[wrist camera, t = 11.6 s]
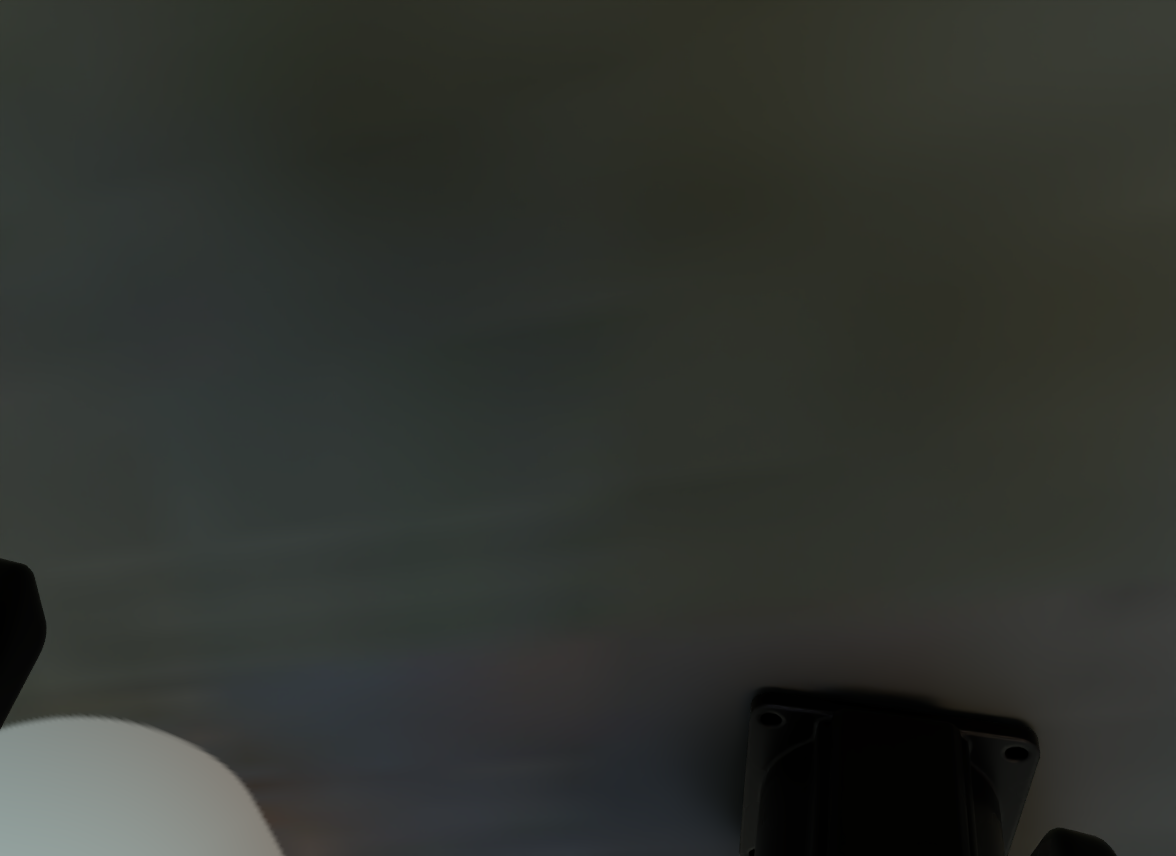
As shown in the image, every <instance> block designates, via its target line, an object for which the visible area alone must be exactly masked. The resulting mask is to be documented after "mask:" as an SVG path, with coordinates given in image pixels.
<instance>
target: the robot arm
mask: <svg viewBox="0 0 1176 856" xmlns="http://www.w3.org/2000/svg"><path fill="white" fill-rule="evenodd" d="M45 638H46V620H45V616H44V612H43V608H42V604H41V601H40V597H39V593H38V589H37V585H36V581H35V577H34V574H33V572H32V571H31V569H30V568H29V567H27V566H26V565H24V564H21V563H17V562H13V561H9V560H5V559H1V558H0V729H1V727H2V725H3V723H4V721H5V719H6V718H7V716H8V714H9V712H10V710H11V708H12V706H13V704H14V702H15V700H16V699H17V697H18V695H19V693H20V691H21V689H22V687H23V685H24V683H25V681H26V680H27V678H28V676H29V674H30V672H31V670H32V668H33V666H34V664H35V662H36V661H37V659H38V657H39V655H40V653H41V651H42V648H43V645H44V642H45ZM771 713H774V714H771ZM1039 758H1040V750H1039V743H1038V737H1037V735H1036V734H1035V733H1034V732H1033V731H1032V730H1030V729H1029V728H1026V727H1023V726H1019V725H1011V724H1004V723H996V722H989V721H981V720H974V719H966V718H959V717H951V716H944V715H936V714H929V713H921V712H914V711H906V710H899V709H891V708H884V707H876V706H869V705H861V704H854V703H846V702H839V701H831V700H824V699H816V698H809V697H801V696H794V695H786V694H779V693H763V694H760V695H758V696H756V697H755V698H754V699H753V701H752V703H751V711H750V722H749V734H748V747H747V760H746V773H745V786H744V798H743V811H742V824H741V837H740V850H739V852H740V856H1008V853H1009V849H1010V846H1011V843H1012V840H1013V837H1014V834H1015V831H1016V828H1017V825H1018V822H1019V819H1020V816H1021V813H1022V810H1023V807H1024V804H1025V801H1026V798H1027V795H1028V791H1029V788H1030V785H1031V782H1032V779H1033V776H1034V773H1035V770H1036V767H1037V764H1038V761H1039ZM1031 856H1117V855H1116V854H1115V852H1114V851H1113V850H1112V848H1111V847H1110V846H1109V845H1108V844H1107V843H1106V842H1105V841H1104V840H1102V839H1100V838H1098V837H1096V836H1092V835H1088V834H1084V833H1080V832H1077V831H1073V830H1069V829H1065V828H1055V829H1052V830H1050V831H1049V832H1048V833H1047V834H1046V835H1045V836H1044V838H1043V839H1042V840H1041V842H1040V843H1039V845H1038V846H1037V847H1036V849H1035V850H1034V851H1033V853H1032V854H1031Z"/></svg>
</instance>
